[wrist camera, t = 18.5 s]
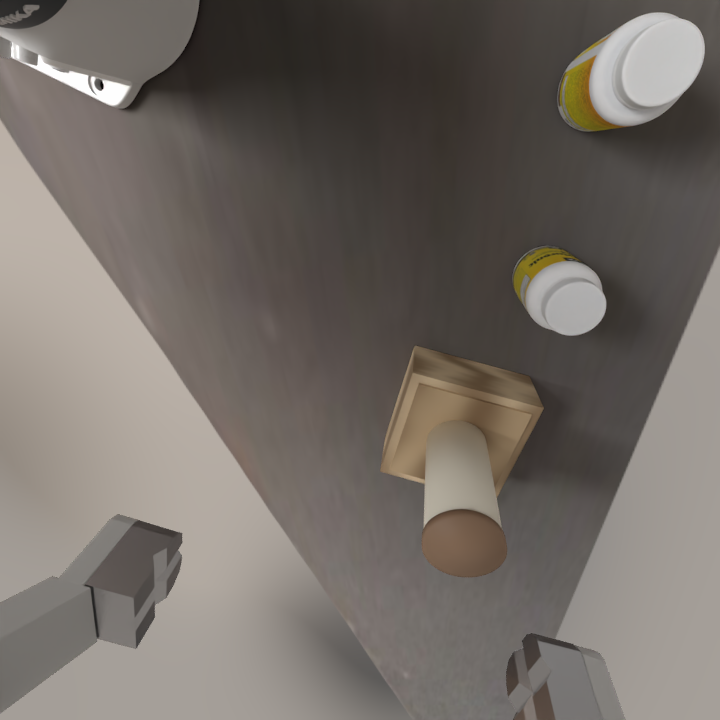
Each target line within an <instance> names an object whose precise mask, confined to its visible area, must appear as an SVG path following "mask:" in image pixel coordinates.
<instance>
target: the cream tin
mask: <svg viewBox="0 0 720 720" xmlns="http://www.w3.org/2000/svg"><path fill="white" fill-rule="evenodd" d="M422 550H423V554H424V556H425V557H426V559H427V560H428V561H429V563H430V564H431V565H433V566H434V567H435V568H437V569H438V570H440V571H442V572H444V573H447V574H450V575H453V576H458V577H478V576H482V575H486V574H488V573H491V572H493V571H494V570H496V569H497V568H498V567H500V566H501V564H502V563H503V562H504V560H505V558H506V555H507V545H506V539H505V535H504V532H503V530H502V526H501V520H500V515H499V509H498V504H497V498H496V493H495V487H494V482H493V476H492V471H491V465H490V460H489V454H488V449H487V443H486V439H485V436H484V434H483V433H482V431H481V430H480V429H479V428H477V427H476V426H474V425H473V424H471V423H468V422H465V421H459V420H452V421H446V422H443V423H441V424H439V425H437V426H436V427H434V428H433V429H432V430H431V431H430V433H429V434H428V437H427V440H426V464H425V499H424V529H423V532H422Z"/></svg>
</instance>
